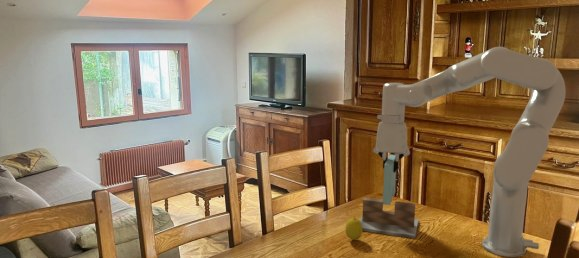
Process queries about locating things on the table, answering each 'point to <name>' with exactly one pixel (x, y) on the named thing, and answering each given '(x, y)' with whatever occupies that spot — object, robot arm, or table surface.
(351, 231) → the lemon
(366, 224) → the base
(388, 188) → the notched plate
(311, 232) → the table surface
